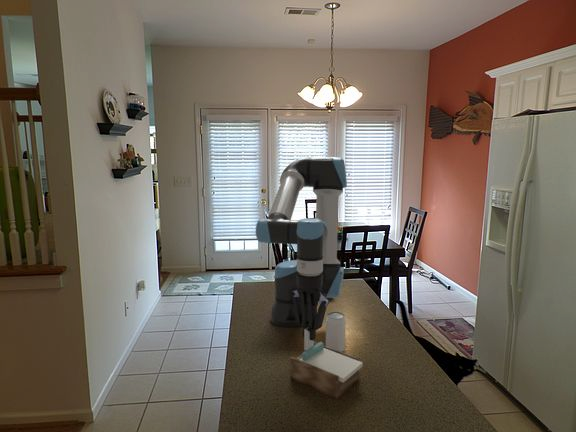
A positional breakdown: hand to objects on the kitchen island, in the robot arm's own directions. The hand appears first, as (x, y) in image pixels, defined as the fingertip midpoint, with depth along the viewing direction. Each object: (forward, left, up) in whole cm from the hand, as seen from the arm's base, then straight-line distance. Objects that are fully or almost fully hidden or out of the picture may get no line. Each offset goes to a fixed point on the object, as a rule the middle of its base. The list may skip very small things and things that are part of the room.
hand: (309, 348), depth 116 cm
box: (+5, 0, -8) cm, 9 cm away
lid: (+7, 0, -3) cm, 8 cm away
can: (-2, +17, -8) cm, 19 cm away
